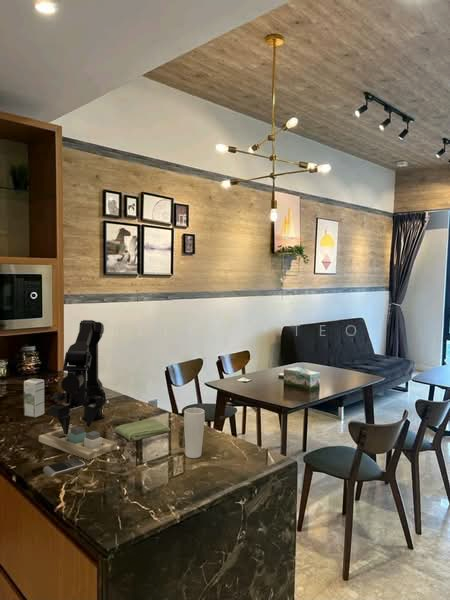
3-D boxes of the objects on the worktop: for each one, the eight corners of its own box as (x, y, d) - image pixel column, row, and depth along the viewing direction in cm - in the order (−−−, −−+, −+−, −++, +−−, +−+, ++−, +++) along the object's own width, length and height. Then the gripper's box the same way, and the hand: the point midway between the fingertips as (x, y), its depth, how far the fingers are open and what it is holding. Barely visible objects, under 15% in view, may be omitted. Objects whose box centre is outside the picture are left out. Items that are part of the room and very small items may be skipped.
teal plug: (78, 442, 157) (78, 425, 156) (86, 444, 155) (86, 427, 154) (68, 445, 154) (68, 428, 153) (76, 448, 151) (76, 430, 151)
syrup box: (44, 413, 186) (45, 379, 186) (34, 418, 181) (34, 382, 180) (33, 412, 188) (33, 377, 187) (23, 416, 183) (23, 380, 182)
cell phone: (86, 468, 137) (86, 463, 137) (50, 478, 130) (50, 474, 130) (77, 461, 142) (77, 457, 142) (42, 471, 134) (42, 467, 134)
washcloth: (172, 433, 169) (172, 424, 169) (130, 443, 158) (130, 434, 157) (153, 423, 179) (153, 415, 179) (112, 433, 167) (112, 424, 167)
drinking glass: (183, 451, 151) (184, 407, 150) (203, 451, 151) (204, 407, 150) (183, 460, 144) (183, 414, 143) (204, 459, 145) (205, 413, 144)
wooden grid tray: (67, 431, 166) (67, 426, 166) (117, 448, 152) (117, 442, 152) (38, 441, 156) (38, 435, 156) (88, 460, 142) (88, 454, 142)
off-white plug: (93, 447, 152) (93, 430, 152) (101, 450, 150) (101, 432, 150) (84, 451, 149) (84, 433, 149) (92, 454, 147) (92, 436, 147)
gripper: (84, 377, 165) (84, 418, 166) (38, 386, 149) (38, 433, 150) (105, 381, 159) (104, 425, 160) (59, 392, 143) (59, 440, 144)
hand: (77, 430), depth 154 cm, fingers open, 9 cm apart
